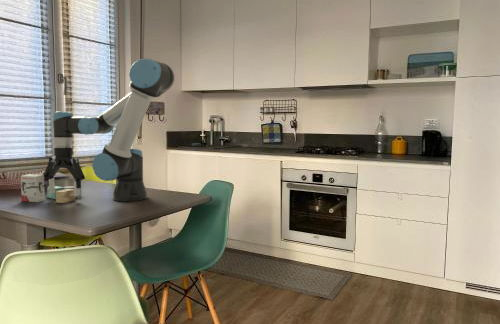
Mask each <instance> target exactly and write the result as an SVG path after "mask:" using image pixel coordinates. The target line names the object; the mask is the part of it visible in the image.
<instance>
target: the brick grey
mask: <svg viewBox="0 0 500 324" xmlns="http://www.w3.org/2000/svg"><path fill="white" fill-rule="evenodd" d="M65 189H74V185H73V186H64V187H63V190H65ZM81 197H82V187H81V188H80V195H78V196H75V199H79V198H81Z"/></svg>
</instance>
